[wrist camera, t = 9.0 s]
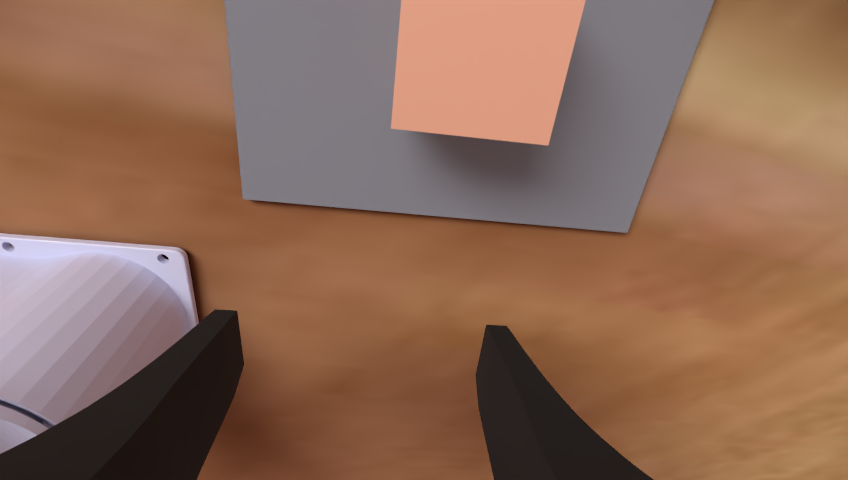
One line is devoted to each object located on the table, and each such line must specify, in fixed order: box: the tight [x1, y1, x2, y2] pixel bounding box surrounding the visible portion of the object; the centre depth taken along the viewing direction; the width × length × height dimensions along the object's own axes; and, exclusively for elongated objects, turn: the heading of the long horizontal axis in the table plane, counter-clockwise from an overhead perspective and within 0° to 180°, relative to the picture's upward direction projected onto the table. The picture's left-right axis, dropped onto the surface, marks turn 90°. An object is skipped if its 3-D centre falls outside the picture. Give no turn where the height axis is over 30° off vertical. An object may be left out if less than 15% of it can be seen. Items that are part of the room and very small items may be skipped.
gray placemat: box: [224, 0, 714, 233], centre depth 18 cm, size 18×16×1 cm
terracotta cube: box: [391, 0, 586, 146], centre depth 15 cm, size 5×5×5 cm
